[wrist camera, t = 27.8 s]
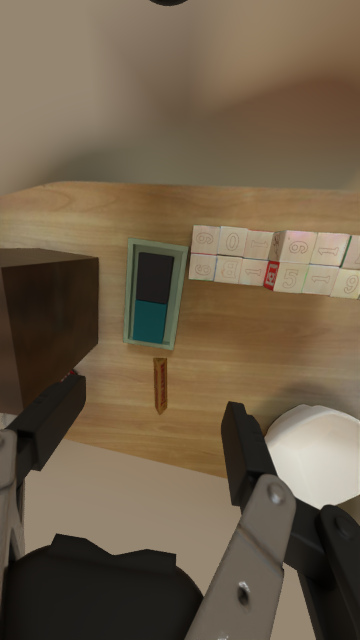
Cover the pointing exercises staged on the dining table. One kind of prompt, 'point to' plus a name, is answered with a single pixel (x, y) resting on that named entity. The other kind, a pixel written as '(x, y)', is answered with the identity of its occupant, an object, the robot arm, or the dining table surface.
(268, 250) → the stack of blocks
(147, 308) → the pad
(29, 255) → the stand
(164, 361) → the chocolate bar
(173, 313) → the tray
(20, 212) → the dining table surface
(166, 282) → the pad
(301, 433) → the bowl
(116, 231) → the dining table surface
